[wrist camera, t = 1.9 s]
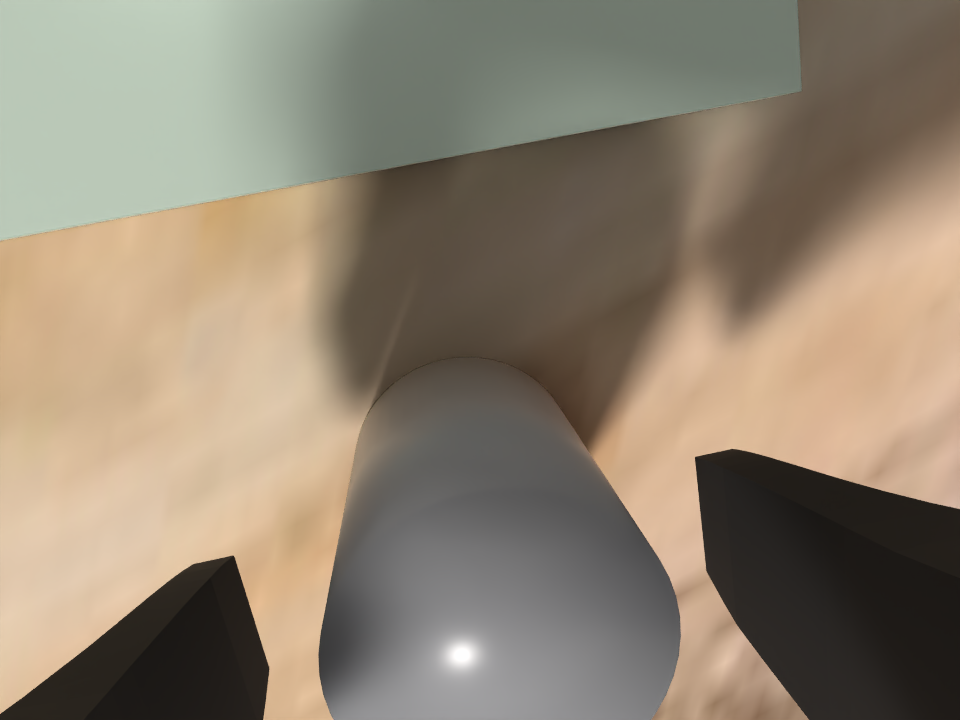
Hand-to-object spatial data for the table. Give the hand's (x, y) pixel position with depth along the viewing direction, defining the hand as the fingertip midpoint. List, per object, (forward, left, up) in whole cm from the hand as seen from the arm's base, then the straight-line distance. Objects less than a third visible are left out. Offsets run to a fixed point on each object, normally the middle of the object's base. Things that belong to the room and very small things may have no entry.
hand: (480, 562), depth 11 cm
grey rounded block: (0, 0, -4) cm, 4 cm away
